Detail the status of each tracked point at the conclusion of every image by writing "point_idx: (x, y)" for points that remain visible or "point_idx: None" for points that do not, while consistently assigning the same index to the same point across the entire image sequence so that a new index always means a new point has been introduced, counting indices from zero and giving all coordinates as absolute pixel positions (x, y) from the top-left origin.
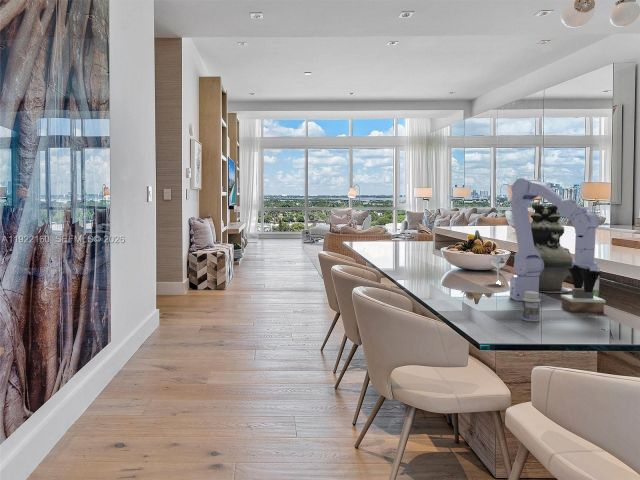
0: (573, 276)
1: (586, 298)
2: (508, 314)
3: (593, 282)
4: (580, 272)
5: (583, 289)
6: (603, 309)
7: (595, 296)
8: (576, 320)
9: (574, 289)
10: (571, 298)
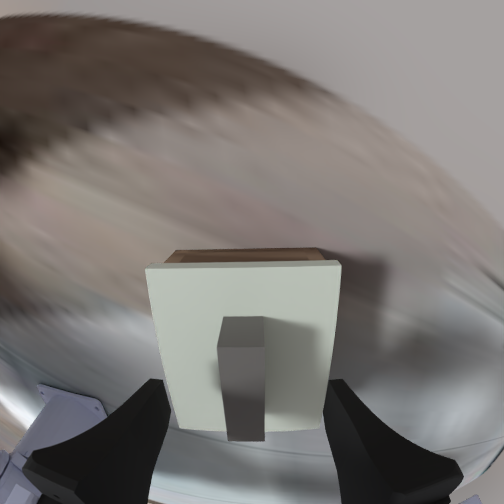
0: (148, 483)
1: (284, 360)
2: (336, 495)
3: (374, 431)
4: (122, 485)
5: (224, 394)
6: (319, 254)
7: (188, 272)
8: (431, 391)
9: (236, 435)
10: (292, 423)
